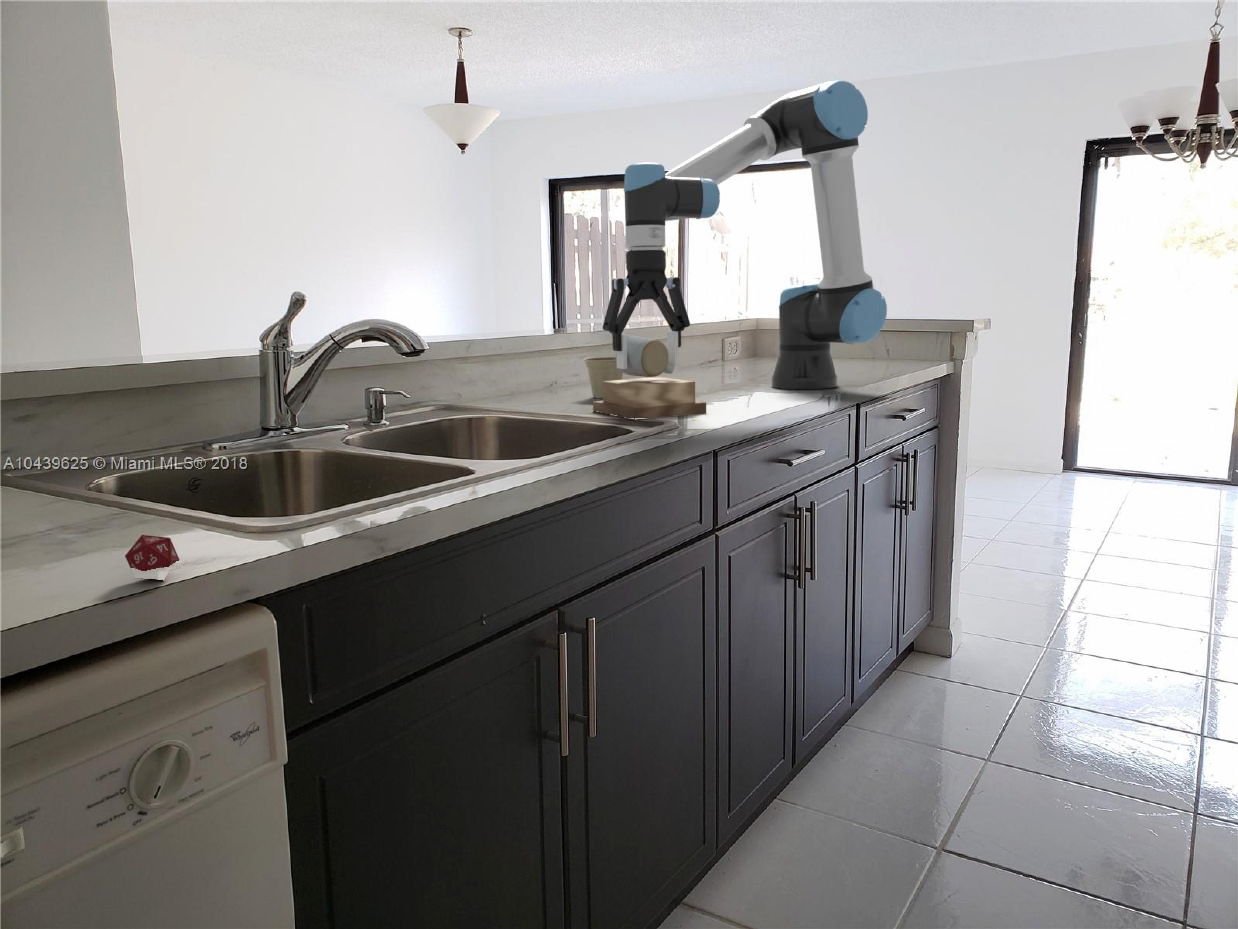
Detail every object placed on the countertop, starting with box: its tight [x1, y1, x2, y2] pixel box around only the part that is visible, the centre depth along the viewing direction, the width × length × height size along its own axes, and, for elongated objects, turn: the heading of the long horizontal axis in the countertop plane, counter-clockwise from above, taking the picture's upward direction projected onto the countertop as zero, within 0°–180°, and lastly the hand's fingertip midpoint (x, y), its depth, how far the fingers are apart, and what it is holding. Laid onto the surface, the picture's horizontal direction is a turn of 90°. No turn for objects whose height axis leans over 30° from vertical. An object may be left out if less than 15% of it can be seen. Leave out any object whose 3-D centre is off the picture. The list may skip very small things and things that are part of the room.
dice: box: [124, 534, 180, 571], centre depth 82 cm, size 4×4×4 cm
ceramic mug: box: [615, 334, 675, 378], centre depth 180 cm, size 11×8×8 cm
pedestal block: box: [602, 376, 696, 408], centre depth 182 cm, size 13×13×4 cm
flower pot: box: [583, 356, 624, 399], centre depth 208 cm, size 9×9×9 cm
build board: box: [592, 400, 707, 419], centre depth 182 cm, size 16×16×2 cm
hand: (647, 366), depth 181 cm, fingers closed on ceramic mug, 11 cm apart
